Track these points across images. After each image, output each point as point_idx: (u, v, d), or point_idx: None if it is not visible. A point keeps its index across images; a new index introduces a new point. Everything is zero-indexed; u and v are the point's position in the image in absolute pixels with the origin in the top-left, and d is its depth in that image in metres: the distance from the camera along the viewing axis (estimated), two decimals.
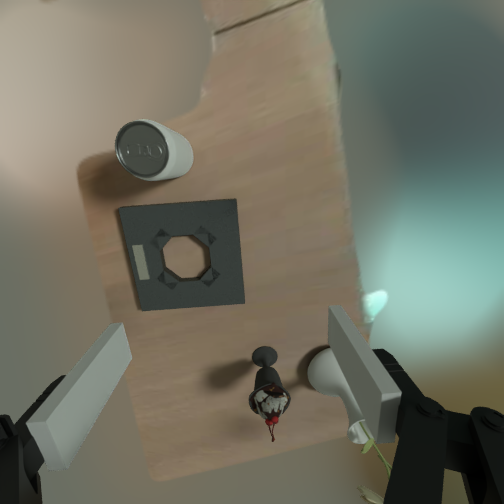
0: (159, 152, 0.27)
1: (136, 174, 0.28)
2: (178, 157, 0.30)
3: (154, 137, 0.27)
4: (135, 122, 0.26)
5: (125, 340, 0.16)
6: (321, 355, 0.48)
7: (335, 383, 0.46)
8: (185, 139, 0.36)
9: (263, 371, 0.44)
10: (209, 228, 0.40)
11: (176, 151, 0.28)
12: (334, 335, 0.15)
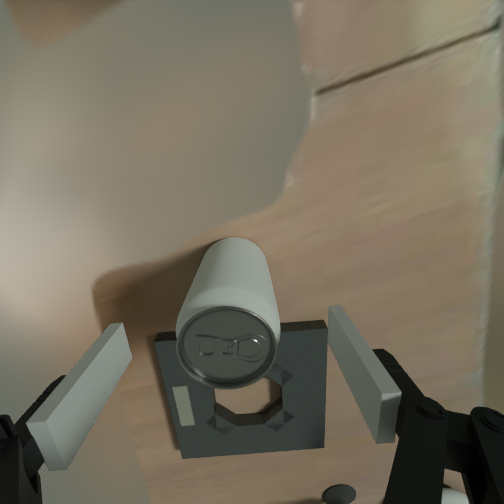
0: (257, 349, 0.15)
1: (211, 382, 0.15)
2: None
3: (251, 327, 0.14)
4: (218, 308, 0.13)
5: (125, 340, 0.16)
6: None
7: None
8: (261, 254, 0.23)
9: None
10: (284, 364, 0.28)
11: None
12: (334, 335, 0.15)
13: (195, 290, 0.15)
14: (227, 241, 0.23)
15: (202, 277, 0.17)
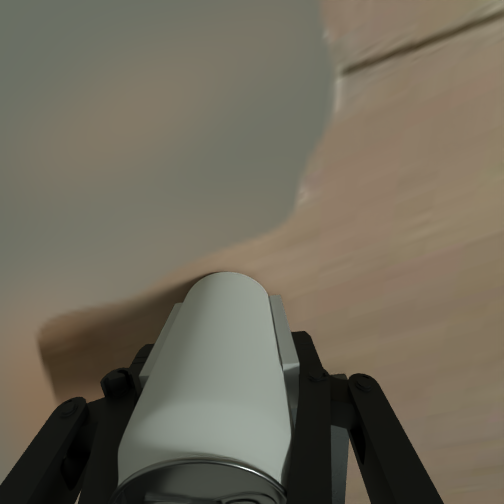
0: None
1: None
2: None
3: (247, 483, 0.08)
4: (182, 461, 0.07)
5: None
6: None
7: None
8: (264, 297, 0.17)
9: None
10: None
11: None
12: None
13: (151, 394, 0.09)
14: (216, 280, 0.16)
15: (169, 359, 0.10)
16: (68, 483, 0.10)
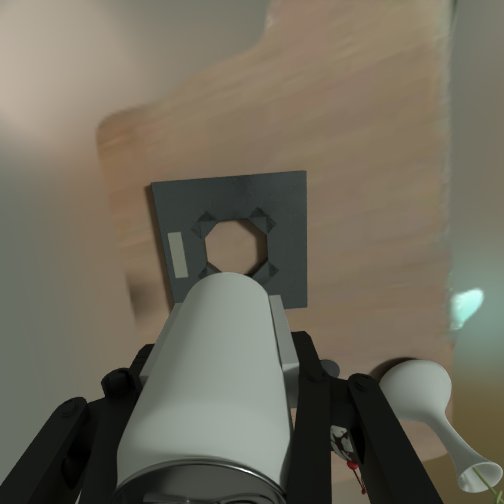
0: None
1: None
2: None
3: (246, 484, 0.08)
4: (180, 462, 0.07)
5: None
6: (398, 371, 0.38)
7: (421, 407, 0.36)
8: (264, 297, 0.17)
9: None
10: (268, 210, 0.31)
11: None
12: None
13: (150, 395, 0.09)
14: (216, 280, 0.16)
15: (168, 360, 0.10)
16: (68, 483, 0.10)
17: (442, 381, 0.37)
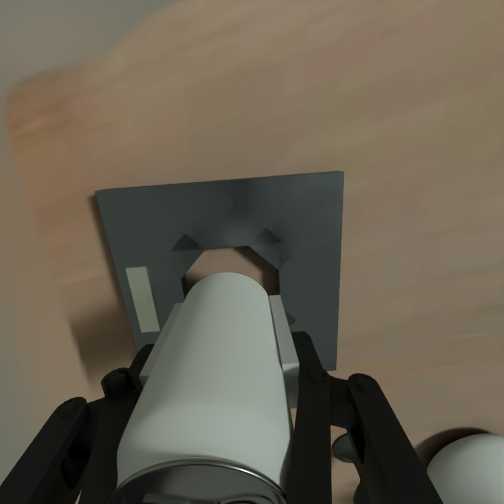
0: None
1: None
2: None
3: (246, 485, 0.08)
4: (180, 463, 0.07)
5: None
6: (460, 452, 0.27)
7: None
8: (264, 298, 0.17)
9: None
10: (282, 233, 0.20)
11: None
12: None
13: (150, 395, 0.09)
14: (216, 280, 0.16)
15: (168, 360, 0.10)
16: (68, 483, 0.10)
17: None
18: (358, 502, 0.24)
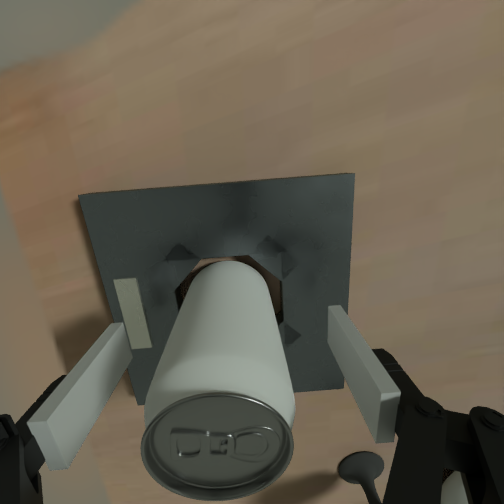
0: (263, 445, 0.10)
1: (196, 491, 0.10)
2: None
3: (255, 418, 0.09)
4: (204, 396, 0.09)
5: (125, 340, 0.16)
6: None
7: None
8: (262, 282, 0.18)
9: None
10: (285, 241, 0.18)
11: (294, 412, 0.11)
12: (334, 335, 0.15)
13: (173, 354, 0.11)
14: (220, 267, 0.18)
15: (184, 328, 0.12)
16: None
17: None
18: None
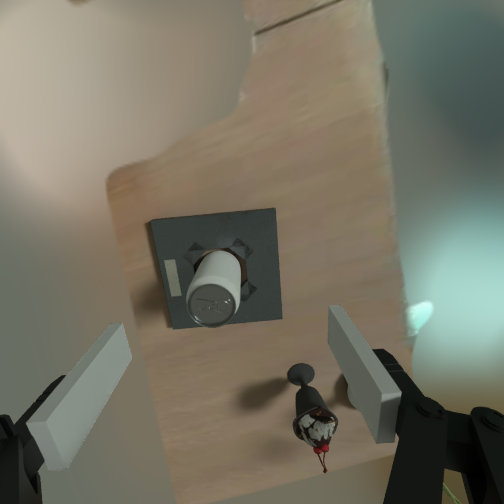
0: (226, 306, 0.30)
1: (204, 324, 0.30)
2: None
3: (223, 294, 0.29)
4: (206, 285, 0.28)
5: (125, 340, 0.16)
6: None
7: None
8: (235, 260, 0.38)
9: (304, 392, 0.41)
10: (246, 240, 0.38)
11: (239, 299, 0.31)
12: (334, 335, 0.15)
13: (196, 278, 0.31)
14: (214, 253, 0.38)
15: (199, 272, 0.32)
16: None
17: None
18: (296, 396, 0.42)
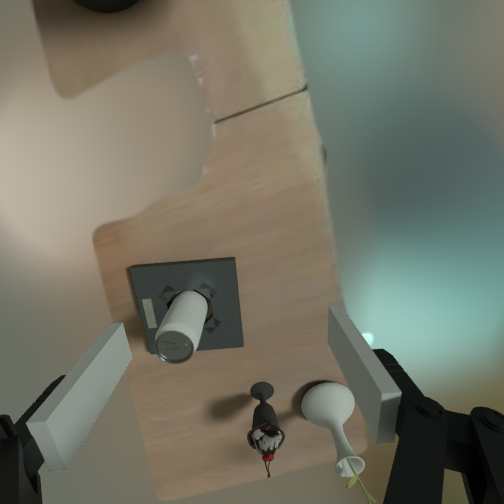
0: (186, 347, 0.37)
1: (169, 361, 0.38)
2: None
3: (183, 339, 0.37)
4: (169, 331, 0.36)
5: (125, 340, 0.16)
6: (313, 391, 0.53)
7: (326, 418, 0.50)
8: (201, 300, 0.46)
9: (260, 408, 0.49)
10: (210, 284, 0.45)
11: (198, 341, 0.38)
12: (334, 335, 0.15)
13: (163, 323, 0.38)
14: (184, 294, 0.45)
15: (167, 316, 0.39)
16: None
17: (344, 399, 0.52)
18: (254, 411, 0.49)
